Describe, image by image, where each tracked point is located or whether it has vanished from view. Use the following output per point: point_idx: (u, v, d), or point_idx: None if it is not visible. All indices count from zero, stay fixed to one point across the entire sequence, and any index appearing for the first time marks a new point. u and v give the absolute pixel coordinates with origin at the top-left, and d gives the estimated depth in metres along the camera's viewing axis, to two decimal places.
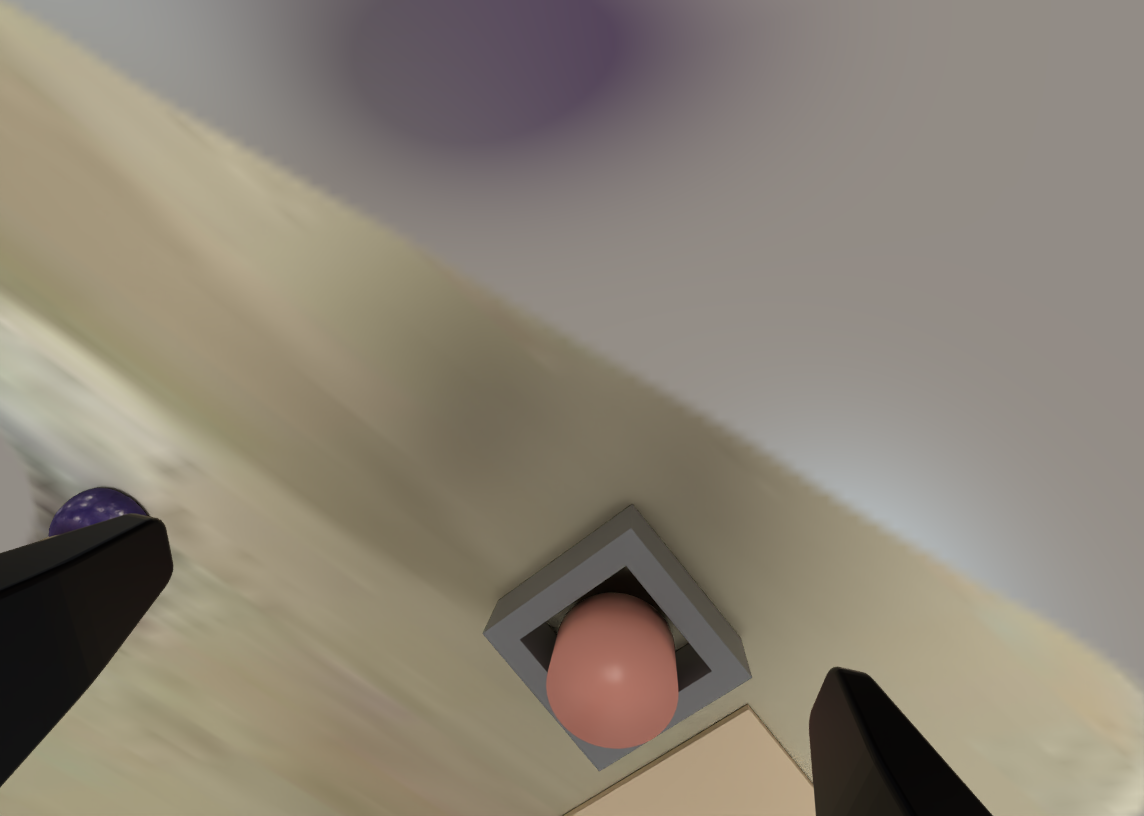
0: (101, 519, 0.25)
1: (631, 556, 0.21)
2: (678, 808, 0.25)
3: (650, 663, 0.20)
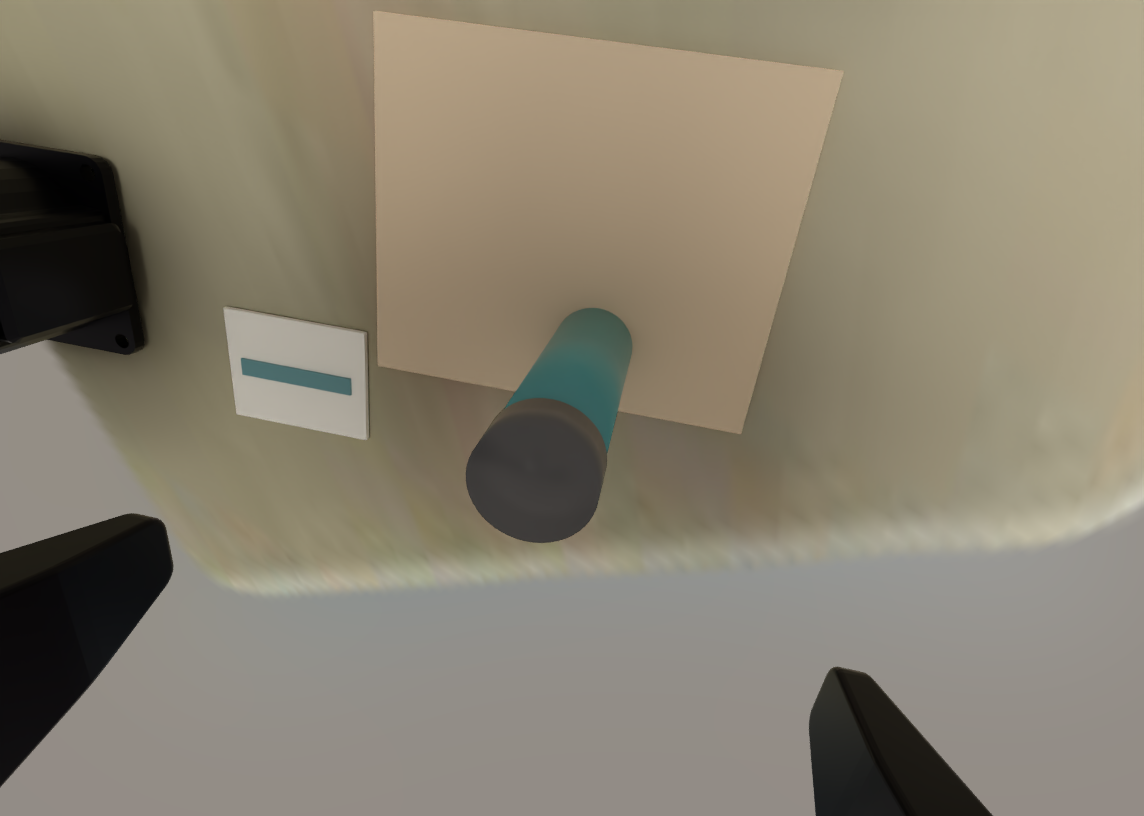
0: None
1: None
2: (619, 138, 0.16)
3: None
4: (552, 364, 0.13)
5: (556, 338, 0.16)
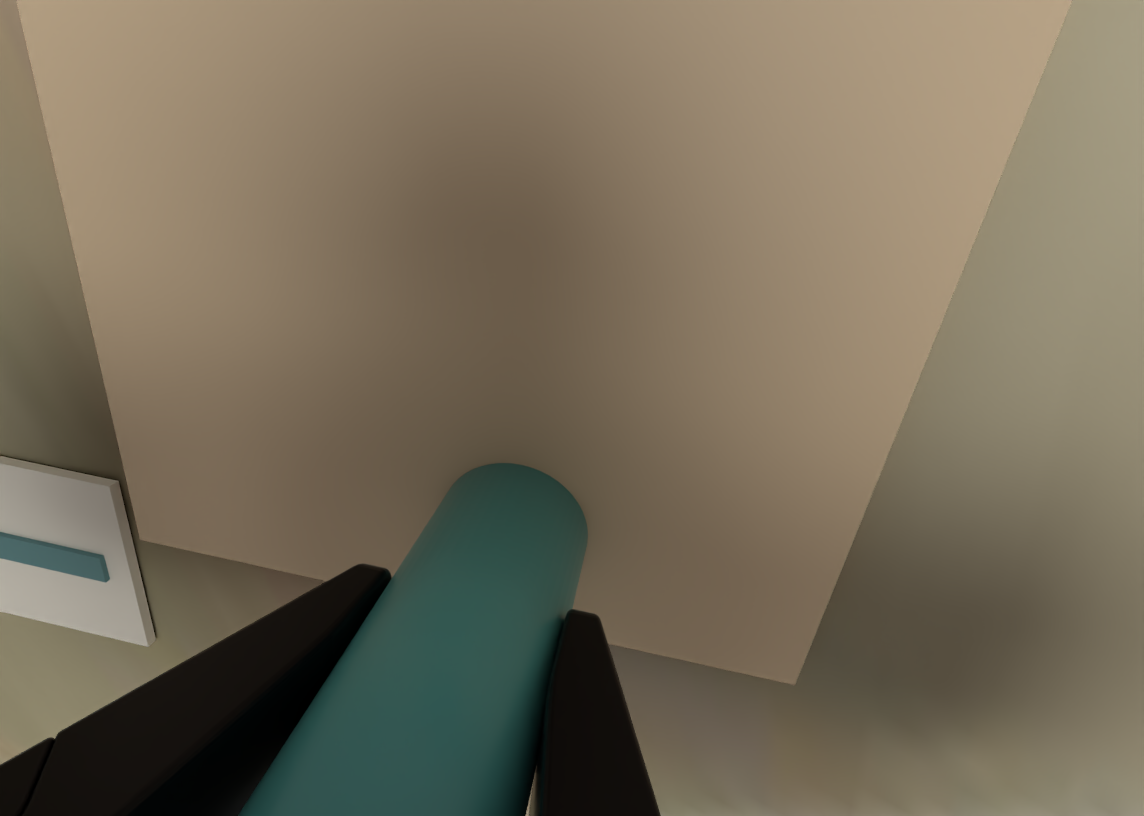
0: None
1: None
2: (542, 128, 0.07)
3: None
4: (317, 777, 0.05)
5: (402, 580, 0.07)
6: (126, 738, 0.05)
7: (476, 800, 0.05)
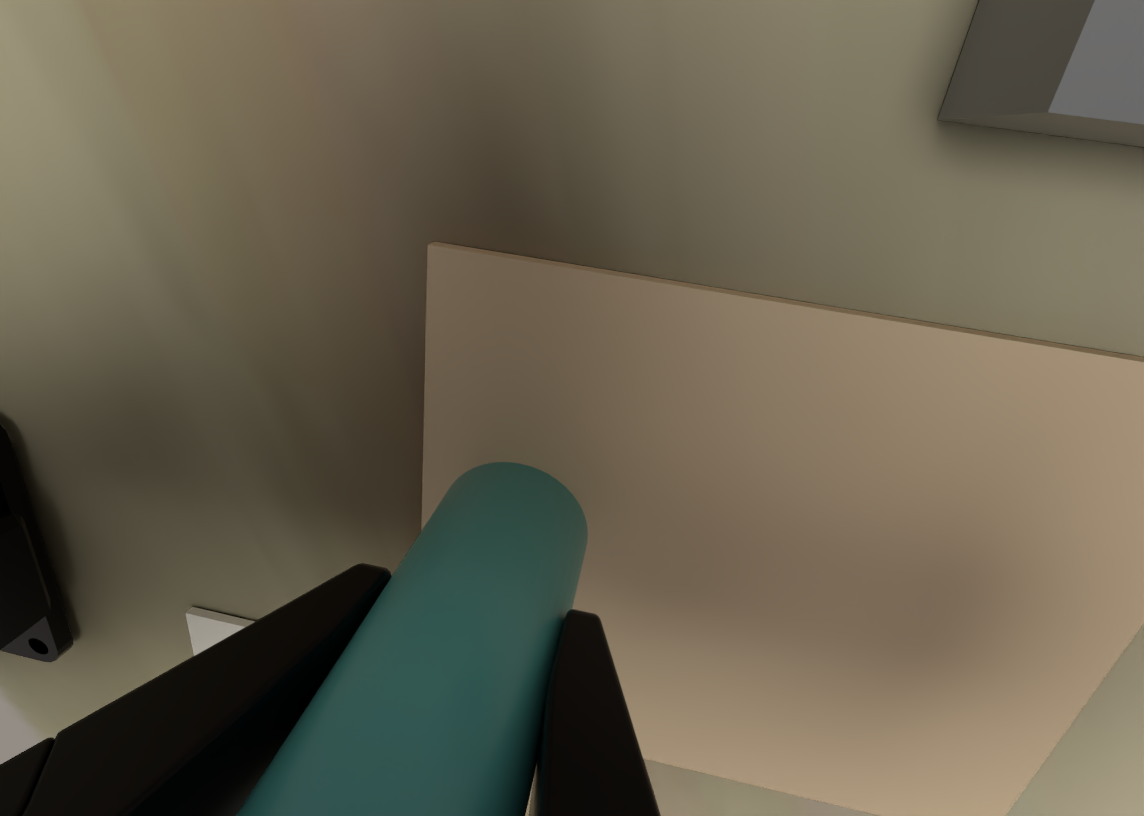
0: None
1: None
2: (851, 457, 0.09)
3: None
4: (315, 775, 0.05)
5: (402, 580, 0.07)
6: (125, 738, 0.05)
7: (476, 800, 0.05)
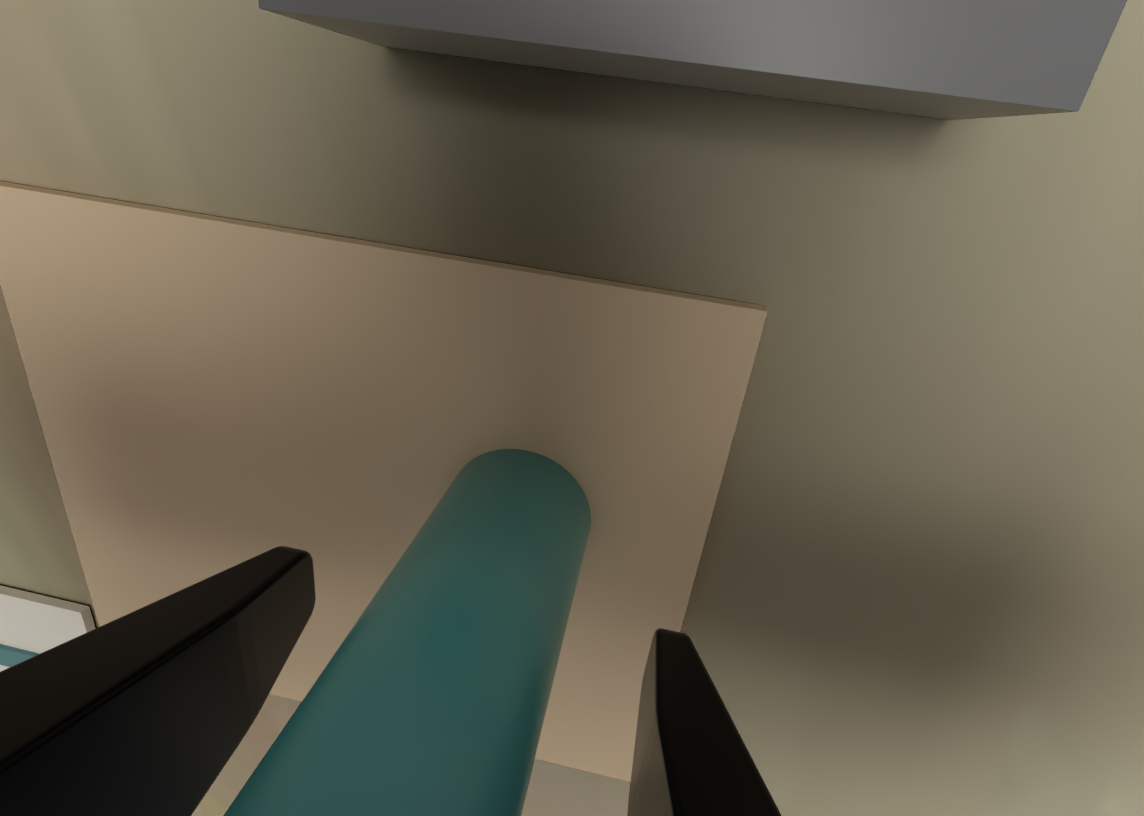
0: None
1: None
2: (399, 390, 0.09)
3: None
4: (338, 718, 0.05)
5: (414, 553, 0.07)
6: (2, 706, 0.05)
7: (487, 745, 0.05)
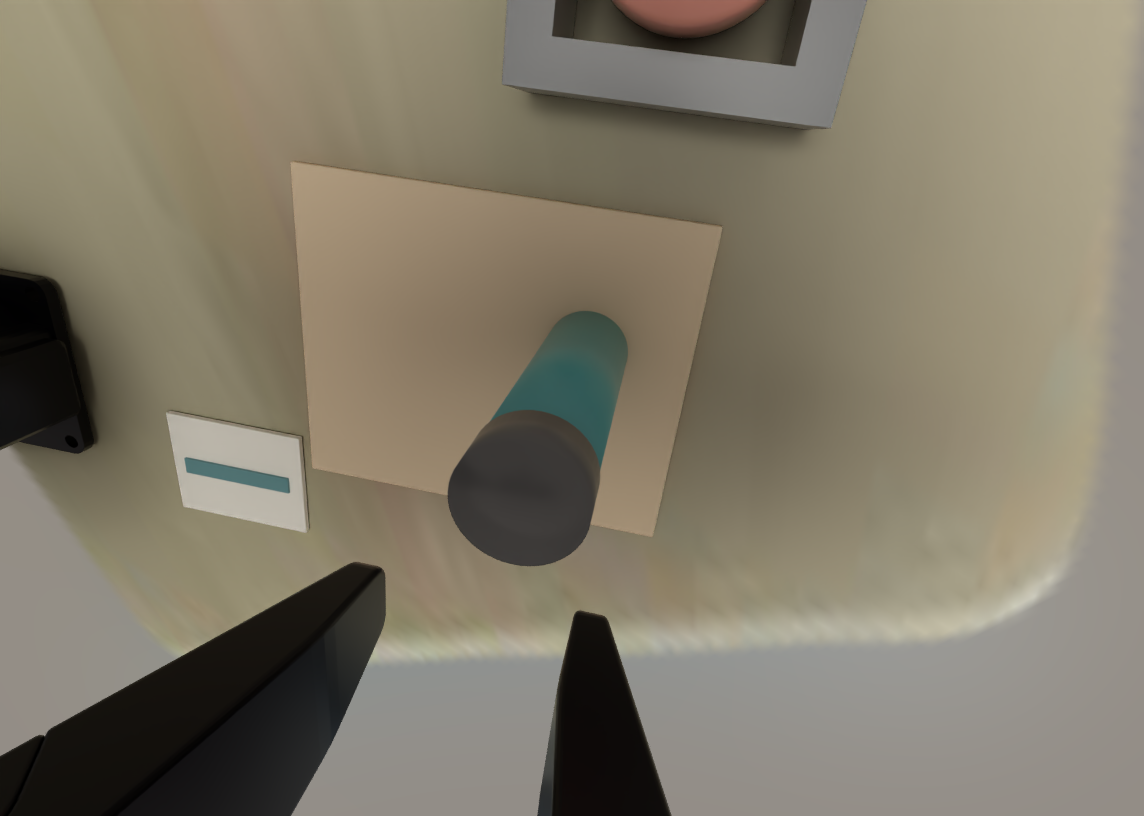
0: None
1: None
2: (522, 277, 0.17)
3: None
4: (542, 372, 0.13)
5: (547, 343, 0.15)
6: (116, 735, 0.05)
7: (599, 389, 0.13)
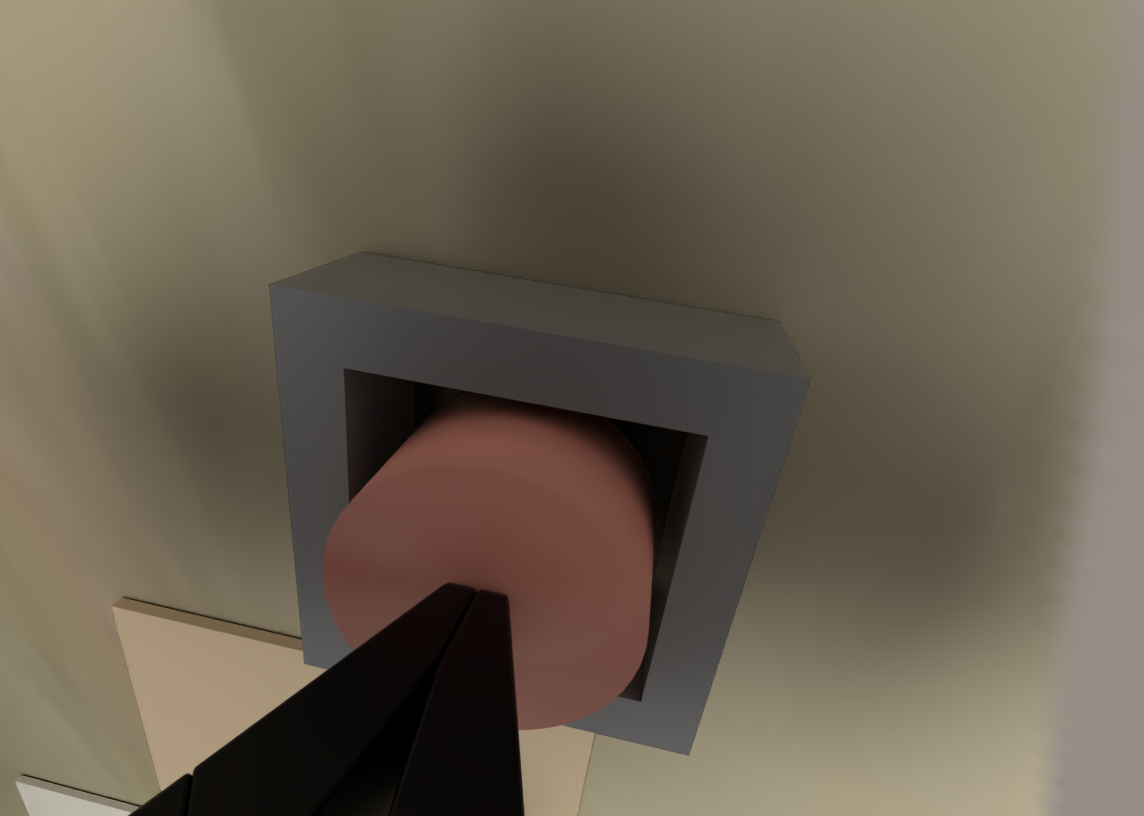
0: None
1: (739, 430, 0.08)
2: None
3: (605, 637, 0.08)
4: None
5: None
6: (262, 773, 0.05)
7: None
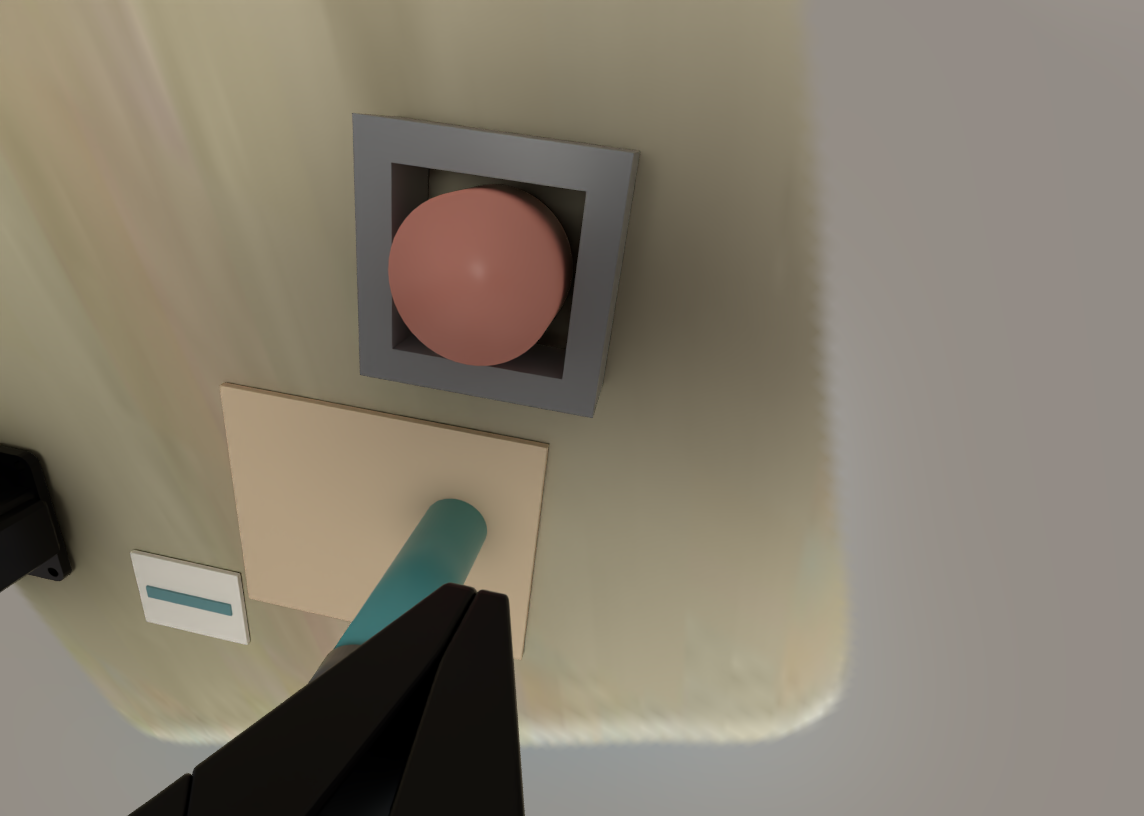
0: None
1: (602, 187, 0.14)
2: (401, 473, 0.22)
3: (535, 292, 0.15)
4: (386, 591, 0.17)
5: (408, 544, 0.20)
6: (262, 773, 0.05)
7: None
